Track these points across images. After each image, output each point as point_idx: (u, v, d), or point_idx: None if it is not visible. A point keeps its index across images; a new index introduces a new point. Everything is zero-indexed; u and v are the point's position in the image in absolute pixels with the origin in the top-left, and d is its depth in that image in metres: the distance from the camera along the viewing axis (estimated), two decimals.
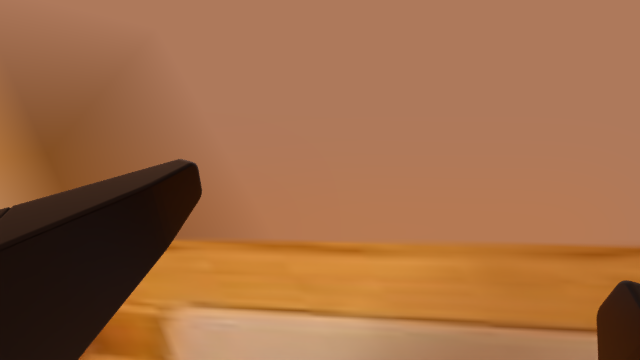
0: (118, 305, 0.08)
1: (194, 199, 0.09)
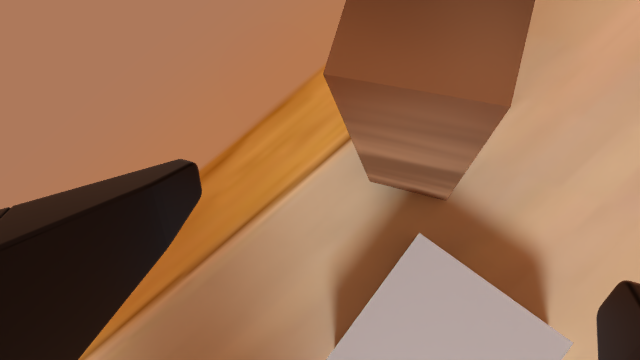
0: (118, 305, 0.08)
1: (194, 199, 0.09)
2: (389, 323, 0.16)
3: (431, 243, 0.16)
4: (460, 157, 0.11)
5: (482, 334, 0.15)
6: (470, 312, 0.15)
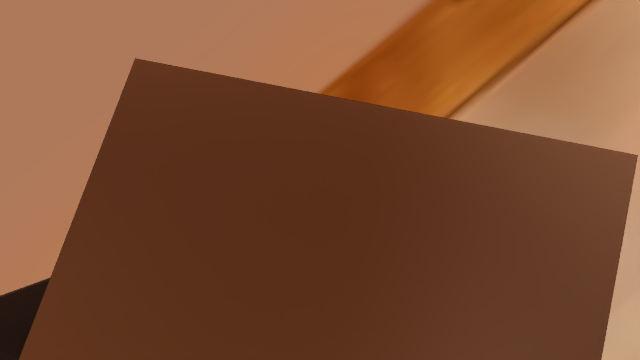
0: None
1: None
2: None
3: None
4: None
5: None
6: None
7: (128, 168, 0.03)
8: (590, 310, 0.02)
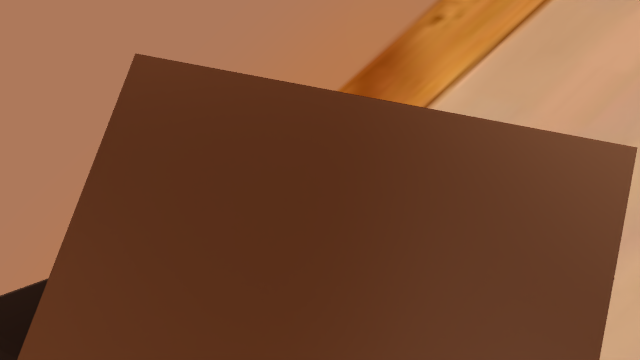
0: None
1: None
2: None
3: None
4: None
5: None
6: None
7: (129, 163, 0.03)
8: (589, 302, 0.02)
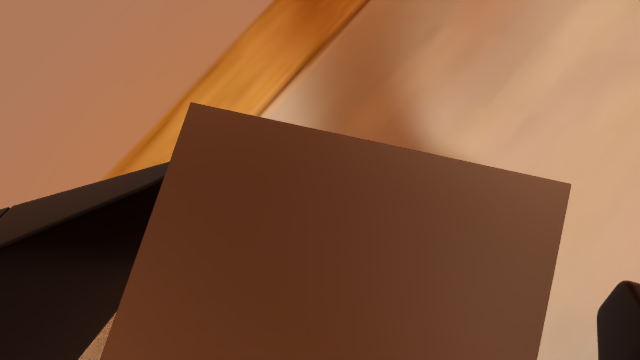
0: (118, 305, 0.08)
1: None
2: None
3: None
4: None
5: None
6: None
7: (189, 190, 0.04)
8: (539, 295, 0.03)
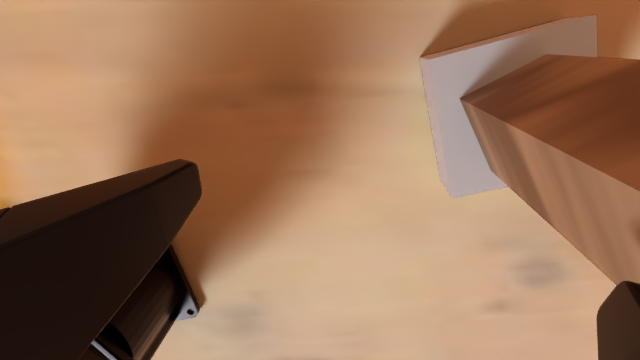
0: (118, 305, 0.08)
1: (194, 199, 0.09)
2: (503, 68, 0.17)
3: (595, 31, 0.16)
4: (581, 246, 0.11)
5: None
6: None
7: None
8: None
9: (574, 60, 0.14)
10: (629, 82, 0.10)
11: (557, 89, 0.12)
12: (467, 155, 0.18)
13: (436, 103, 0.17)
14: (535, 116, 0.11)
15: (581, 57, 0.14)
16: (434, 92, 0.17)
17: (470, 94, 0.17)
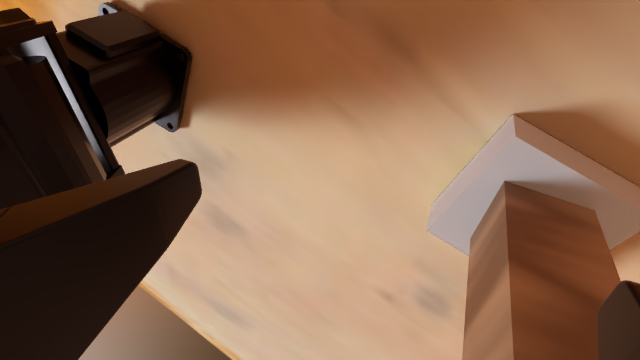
0: (117, 305, 0.08)
1: (194, 199, 0.09)
2: (556, 191, 0.17)
3: None
4: None
5: None
6: None
7: None
8: None
9: (601, 248, 0.15)
10: None
11: (564, 270, 0.13)
12: (466, 217, 0.19)
13: (485, 168, 0.18)
14: (529, 283, 0.13)
15: (608, 251, 0.15)
16: (492, 160, 0.17)
17: (514, 188, 0.17)
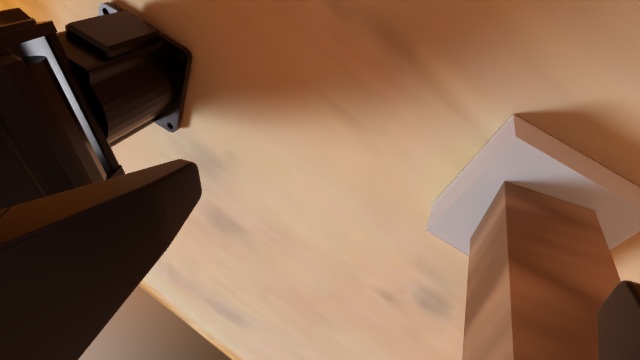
0: (117, 305, 0.08)
1: (194, 199, 0.09)
2: (556, 191, 0.17)
3: None
4: None
5: None
6: None
7: None
8: None
9: (601, 248, 0.15)
10: None
11: (564, 270, 0.13)
12: (466, 217, 0.19)
13: (485, 168, 0.18)
14: (529, 283, 0.13)
15: (608, 251, 0.15)
16: (492, 160, 0.17)
17: (514, 188, 0.17)
